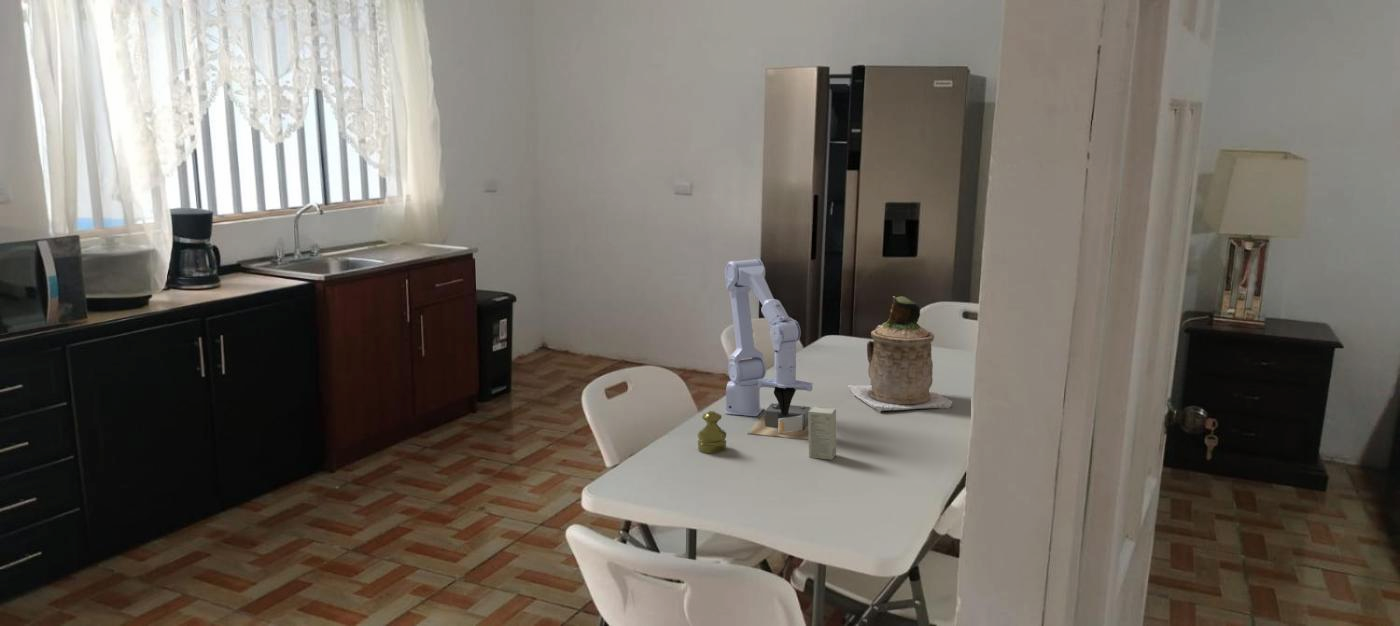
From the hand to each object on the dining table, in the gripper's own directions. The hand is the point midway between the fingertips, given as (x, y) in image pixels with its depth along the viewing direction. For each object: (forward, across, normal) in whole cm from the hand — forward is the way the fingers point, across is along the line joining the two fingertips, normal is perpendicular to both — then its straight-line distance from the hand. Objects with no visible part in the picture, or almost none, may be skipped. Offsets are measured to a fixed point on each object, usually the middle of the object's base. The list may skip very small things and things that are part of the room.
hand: (784, 414), depth 261 cm
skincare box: (+5, +13, -16) cm, 21 cm away
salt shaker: (+5, -15, -19) cm, 24 cm away
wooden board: (+5, 0, +3) cm, 6 cm away
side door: (+4, +2, -1) cm, 5 cm away
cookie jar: (+5, +26, +39) cm, 47 cm away
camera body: (+5, -1, +6) cm, 7 cm away
